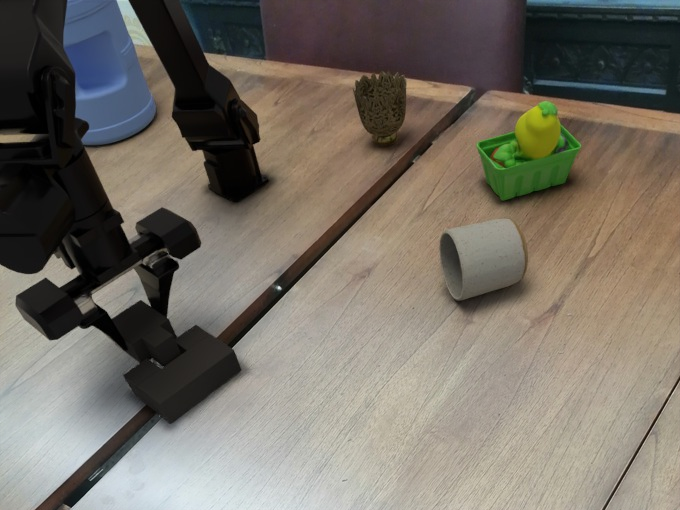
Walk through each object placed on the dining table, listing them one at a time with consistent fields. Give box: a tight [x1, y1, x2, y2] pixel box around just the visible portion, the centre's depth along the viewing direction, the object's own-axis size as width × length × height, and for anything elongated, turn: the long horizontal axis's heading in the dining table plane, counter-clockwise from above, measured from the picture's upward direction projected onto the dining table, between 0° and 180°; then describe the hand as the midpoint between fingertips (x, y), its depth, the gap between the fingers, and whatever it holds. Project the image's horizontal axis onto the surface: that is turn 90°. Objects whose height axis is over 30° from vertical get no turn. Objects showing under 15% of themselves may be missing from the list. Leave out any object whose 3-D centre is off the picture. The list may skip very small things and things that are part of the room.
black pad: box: [111, 299, 181, 368], centre depth 76 cm, size 5×8×3 cm, turn 46°
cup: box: [352, 70, 408, 147], centre depth 98 cm, size 8×7×8 cm
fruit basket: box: [476, 100, 582, 201], centre depth 86 cm, size 11×9×11 cm
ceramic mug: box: [438, 218, 529, 302], centre depth 78 cm, size 11×8×8 cm
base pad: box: [122, 324, 242, 424], centre depth 75 cm, size 10×7×3 cm
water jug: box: [63, 0, 157, 146], centre depth 103 cm, size 16×16×28 cm
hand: (144, 335), depth 77 cm, fingers closed on black pad, 5 cm apart
